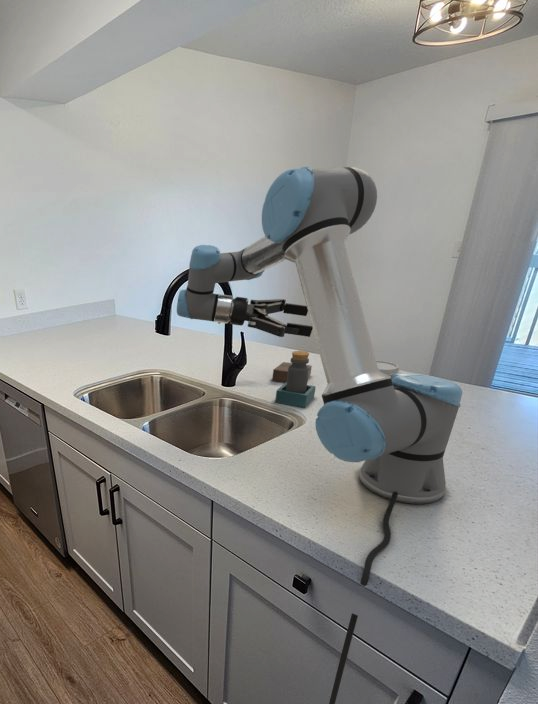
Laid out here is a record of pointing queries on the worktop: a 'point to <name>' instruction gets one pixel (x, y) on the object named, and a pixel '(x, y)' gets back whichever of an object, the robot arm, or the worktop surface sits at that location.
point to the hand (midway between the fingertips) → (309, 320)
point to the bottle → (298, 372)
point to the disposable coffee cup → (388, 368)
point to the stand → (284, 372)
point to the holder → (295, 396)
